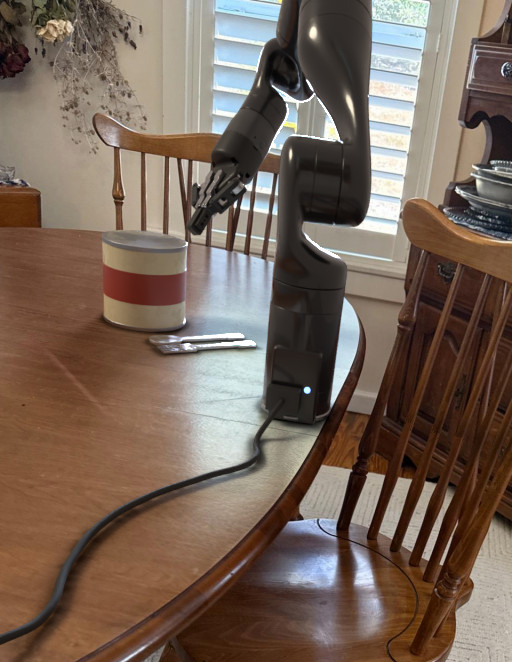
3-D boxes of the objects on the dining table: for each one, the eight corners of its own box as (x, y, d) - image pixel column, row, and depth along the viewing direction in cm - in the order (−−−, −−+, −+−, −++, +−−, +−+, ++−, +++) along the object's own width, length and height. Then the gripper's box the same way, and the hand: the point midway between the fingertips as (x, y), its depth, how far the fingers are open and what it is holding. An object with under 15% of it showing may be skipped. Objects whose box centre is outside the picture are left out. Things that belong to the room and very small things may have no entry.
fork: (249, 342, 127) (250, 339, 127) (257, 348, 125) (258, 345, 125) (156, 348, 118) (156, 345, 117) (163, 354, 116) (163, 350, 116)
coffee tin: (172, 336, 124) (174, 253, 117) (91, 323, 123) (88, 238, 117) (194, 316, 135) (196, 239, 129) (119, 304, 135) (118, 226, 128)
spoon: (236, 334, 130) (236, 331, 130) (247, 341, 127) (248, 338, 127) (145, 338, 121) (145, 335, 121) (155, 346, 118) (155, 343, 118)
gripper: (204, 133, 129) (153, 217, 126) (253, 123, 120) (199, 212, 117) (234, 168, 134) (186, 248, 131) (283, 160, 125) (232, 247, 122)
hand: (192, 231), depth 124 cm, fingers closed
